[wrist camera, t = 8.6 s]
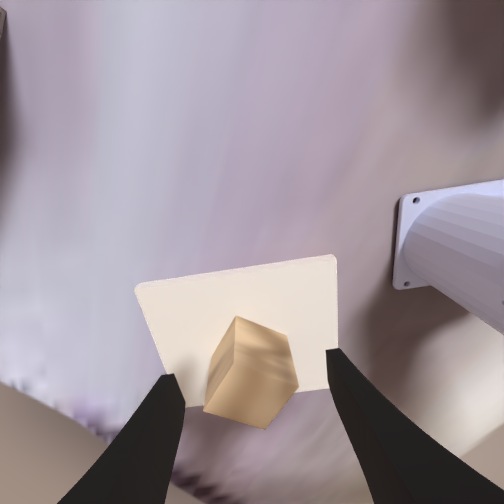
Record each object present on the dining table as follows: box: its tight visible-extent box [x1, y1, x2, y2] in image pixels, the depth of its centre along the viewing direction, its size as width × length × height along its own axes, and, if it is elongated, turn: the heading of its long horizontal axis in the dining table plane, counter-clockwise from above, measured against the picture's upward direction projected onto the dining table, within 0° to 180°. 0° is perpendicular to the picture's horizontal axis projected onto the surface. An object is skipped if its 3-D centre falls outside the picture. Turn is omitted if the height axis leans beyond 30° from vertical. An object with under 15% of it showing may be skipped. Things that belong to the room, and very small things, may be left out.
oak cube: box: [203, 315, 299, 430], centre depth 19 cm, size 5×5×5 cm
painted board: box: [134, 254, 338, 408], centre depth 22 cm, size 16×14×1 cm
